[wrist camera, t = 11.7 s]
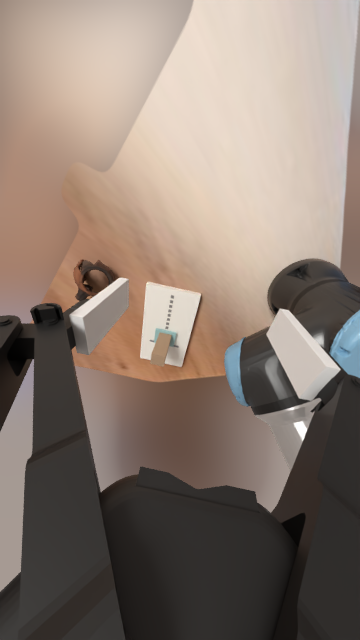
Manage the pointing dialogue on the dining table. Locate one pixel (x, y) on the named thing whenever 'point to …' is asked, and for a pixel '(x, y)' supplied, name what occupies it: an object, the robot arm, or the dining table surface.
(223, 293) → the dining table surface
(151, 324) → the board
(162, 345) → the stub
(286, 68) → the dining table surface
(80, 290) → the dark brown looped ring
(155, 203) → the dining table surface
